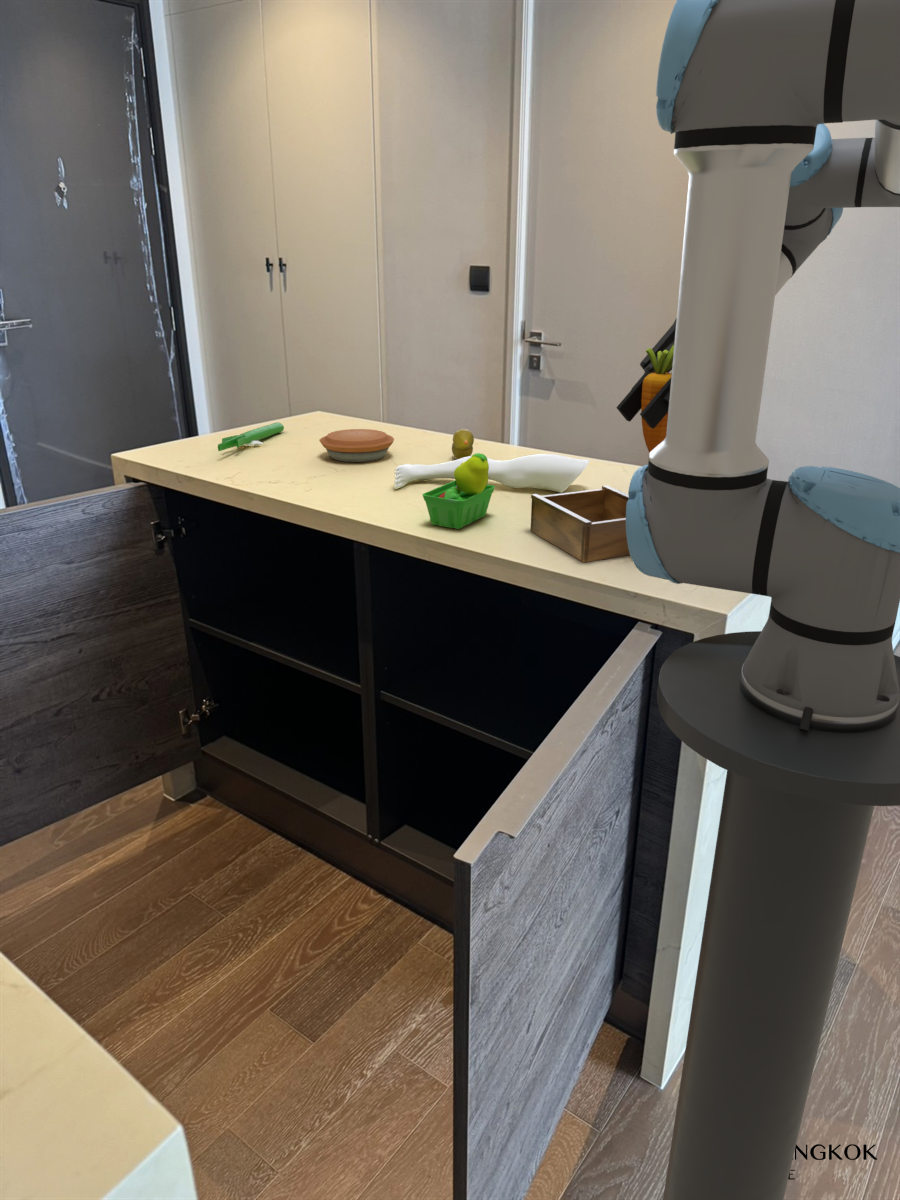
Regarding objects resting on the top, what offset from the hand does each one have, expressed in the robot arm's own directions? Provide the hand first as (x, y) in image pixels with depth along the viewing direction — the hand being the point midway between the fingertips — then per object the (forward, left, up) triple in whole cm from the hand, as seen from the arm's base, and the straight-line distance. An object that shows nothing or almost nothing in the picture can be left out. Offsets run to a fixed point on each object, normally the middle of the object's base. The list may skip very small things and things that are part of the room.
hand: (635, 417), depth 115 cm
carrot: (+2, -3, -6) cm, 7 cm away
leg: (+36, +22, -20) cm, 47 cm away
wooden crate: (+8, +4, -20) cm, 22 cm away
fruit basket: (+15, +25, -20) cm, 35 cm away
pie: (+57, +52, -20) cm, 80 cm away
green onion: (+64, +77, -20) cm, 102 cm away
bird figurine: (+58, +30, -20) cm, 68 cm away
